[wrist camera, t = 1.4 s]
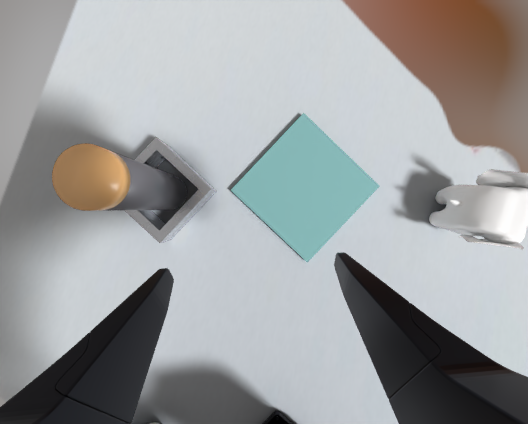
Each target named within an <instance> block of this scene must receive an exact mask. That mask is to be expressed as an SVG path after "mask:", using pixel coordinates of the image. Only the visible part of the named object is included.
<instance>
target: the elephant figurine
mask: <svg viewBox="0 0 528 424" xmlns="http://www.w3.org/2000/svg"><path fill="white" fill-rule="evenodd" d="M477 177H478V178H477V180H476V183H477V184H478V185H453V186H448V187H446V188H444V189H442V190H440V191H438V192H437V195H436V201H437V202H438V203H439V204H447V205H446V208H445V209H444V210H442V211H436V212H433V213H432V214H431V215H430V218H429V221H430V223H431V224H432V225H434V226H436V227H440V228H444V229H448V230H450V231H453V232H456V233H459V234H462V235H460V236H459V237H463V238H464V239H465V240H466V241H468V242H474V243H482V244H489V245H496V246H504V247H514V248H519V249H523V246H522V245H520V244H519V242H521V241H522V240H523V239H524V236H525V232H526V229H527V225H528V173H521V172H511V171H500V170H494V169H491V170H488V171H486V172H484V173H483V174H481V175H478V176H477ZM473 236H482V237H484V238H485V239H476V238H475V237H473Z"/></svg>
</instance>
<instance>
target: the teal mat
mask: <svg viewBox="0 0 528 424" xmlns="http://www.w3.org/2000/svg"><path fill="white" fill-rule="evenodd" d="M378 187H379V185H378V184H377V183H376V182H375V181H374V180H373V179H372V178H371V177H370V176H369V175H367V174H366V173H365V172H364V171H363V170H362V169H361V168H360V167H359V166H358V165H357V164H356V163H355V162H354V161H353V160H352V159H351V158H350V157H349V156H348V155H347V154H346V153H345V152H344V151H343V150H342V149H341V148H340V147H338V146H337V145H336V144H335V143H334V142H333V141H332V140H331V139H330V138H329V137H328V136H327V135H326V134H325V133H324V132H323V131H322V130H321V129H320V128H319V127H318V126H317V125H316V124H315V123H314V122H313V121H312V120H310V119H309V118H308V117H307V116H306V115H305V114H304V113H303V114H302V115H301V116H300V117H299V118H298V119H297V120H296V122H295V123H294V124H293V125H292V126H291V127H290V128H289V129H288V130H287V131H286V132H285V133H284V134H283V135H282V136H281V137H280V138H279V140H278V141H277V142H276V143H275V144H274V145H273V146H272V147H271V148H270V149H269V150H268V151H267V152H266V153H265V154H264V155H263V156H262V158H261V159H260V160H259V161H258V162H257V163H256V164H255V165H254V166H253V167H252V168H251V169H250V170H249V171H248V172H247V173H246V174H245V176H244V177H243V178H242V179H241V180H240V181H239V182H238V183H237V184H236V185H235V186H234V187H233V188H232V189H231V191H232V192H233V193H234V194H235V195H236V196H237V197H238V198H239V199H241V200H242V201H243V202H244V203H245V204H246V205H247V206H248V207H249V208H250V209H251V210H252V211H253V212H254V213H255V214H256V215H257V216H259V217H260V218H261V219H262V220H263V221H264V222H265V223H266V224H267V225H268V226H269V227H270V228H271V229H272V230H273V231H274V232H276V233H277V234H278V235H279V236H280V237H281V238H282V239H283V240H284V241H285V242H286V243H287V244H288V245H289V246H290V247H291V248H292V249H294V250H295V251H296V252H297V253H298V254H299V255H300V256H301V257H302V258H303V259H304V260H305V261H306V262H308V261H309V260H310V259H311V258H312V257H313V256H314V255H315V254H316V253H317V252H318V251H319V250H320V249H321V248H322V247H323V245H324V244H325V243H326V242H327V241H328V240H329V239H330V238H331V237H332V236H333V235H334V234H335V233H336V232H337V231H338V230H339V229H340V228H341V226H342V225H343V224H344V223H345V222H346V221H347V220H348V219H349V218H350V217H351V216H352V215H353V214H354V213H355V212H356V211H357V210H358V209H359V207H360V206H361V205H362V204H363V203H364V202H365V201H366V200H367V199H368V198H369V197H370V196H371V195H372V194H373V193H374V192H375V191H376V189H377V188H378Z"/></svg>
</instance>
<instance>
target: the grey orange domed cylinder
mask: <svg viewBox="0 0 528 424" xmlns="http://www.w3.org/2000/svg"><path fill="white" fill-rule="evenodd" d="M52 182H53V186H54V189H55V191H56V193H57V195H58V196H59V197H60V199H61V200H62V201H63V202H64V203H66V204H67V205H69V206H70V207H73V208H75V209H78V210H87V211H90V210H173V209H176V208H178V207H180V206H181V205H182V204H183V203H184V201H185V199H186V196H187V189H186V186H185V184H184V182H183V181H182V180H181V179H180V178H179V177H177V176H174V175H172V174H169V173H167V172H164V171H161V170H159V169H156V168H154V167H151V166H149V165H146V164H143V163H141V162H138V161H136V160H133V159H130V158H128V157H125V156H123V155H120V154H118V153H115V152H112V151H110V150H107V149H105V148H102V147H99V146H97V145H93V144H78V145H74V146H71V147H70V148H68V149H66V150H65V151H64V152H63V153H61V155H60V156H59V157H58V158H57V160H56V162H55V164H54V167H53V172H52Z"/></svg>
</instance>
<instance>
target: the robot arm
mask: <svg viewBox="0 0 528 424" xmlns="http://www.w3.org/2000/svg"><path fill="white" fill-rule="evenodd" d="M334 266H335V270H336V273H337V276H338V280H339V283H340V286H341V289H342V292H343V295H344V298H345V300H346V302H347V305H348V307H349V309H350V312H351V314H352V316H353V319H354V321H355V323H356V325H357V328H358V330H359V332H360V335H361V337H362V339H363V342H364V344H365V346H366V349H367V351H368V353H369V355H370V358H371V360H372V362H373V365H374V367H375V369H376V372H377V374H378V376H379V378H380V381H381V383H382V385H383V388H384V390H385V392H386V395H387V397H388V399H389V402H390V404H391V406H392V409H393V411H394V413H395V416H396V418H397V420H398V423H399V424H528V377H526V376H524V375H521V374H519V373H516V372H514V371H512V370H510V369H508V368H506V367H504V366H502V365H500V364H498V363H497V362H495V361H493V360H492V359H490V358H488V357H487V356H485V355H484V354H482V353H481V352H479V351H478V350H476V349H475V348H473V347H472V346H470V345H469V344H468V343H466V342H465V341H463V340H462V339H460V338H459V337H457V336H456V335H454V334H453V333H451V332H450V331H448V330H447V329H445V328H444V327H442V326H441V325H440V324H438V323H437V322H435V321H434V320H432V319H431V318H430V317H428V316H427V315H426V314H424V313H423V312H422V311H420V310H419V309H418V308H416V307H415V306H414V305H412V304H411V303H409V302H408V301H407V300H406V299H405V298H403V297H402V296H401V295H399V294H398V293H397V292H395V291H394V290H393V289H392V288H390V287H389V286H388V285H386V284H385V283H384V282H383V281H381V280H380V279H379V278H377V277H376V276H375V275H373V274H372V273H371V272H370V271H368V270H367V269H366V268H364V267H363V266H362V265H360V264H359V263H358V262H357V261H355V260H354V259H353V258H351V257H350V256H349V255H347V254H346V253H337V254H336V258H335V263H334ZM173 282H174V279H173V276H172V275H171V273H170V271H169V269H167V268H165V269H159V270H158V271H157V272H156V273H154V274H153V275H152V276H151V277H150V278H149V279H148V280H147V281H146V282H144V283H143V284H142V285H141V286H140V287H139V288H138V289H137V290H136V291H135V292H133V293H132V294H131V295H130V296H129V297H128V298H127V299H126V300H125V301H123V302H122V303H121V304H120V305H119V306H118V307H117V308H116V309H115V310H114V311H112V312H111V313H110V314H109V315H108V316H107V317H106V318H105V319H104V320H103V321H101V322H100V323H99V324H98V325H97V326H96V327H95V328H94V329H93V330H91V332H90V333H88V334H87V335H86V336H85V337H84V338H83V339H81V340H80V341H79V342H78V343H77V344H76V345H75V346H74V347H72V348H71V349H70V350H69V351H68V352H67V353H66V354H64V355H63V356H62V357H61V358H60V359H58V360H57V361H56V362H55V363H54V364H53V365H51V366H50V367H49V368H48V369H47V370H45V371H44V372H43V373H42V374H40V375H39V376H38V377H37V378H36V379H34V380H33V381H32V382H31V383H29V384H28V385H27V386H26V387H25V388H23V389H22V390H21V391H20V392H18V393H17V394H16V395H15V396H14V397H12V398H11V399H10V400H9V401H7V402H6V403H5V404H4V405H2V406H1V407H0V424H131V422H132V419H133V416H134V413H135V410H136V407H137V404H138V400H139V397H140V394H141V391H142V388H143V385H144V382H145V379H146V376H147V373H148V370H149V366H150V363H151V360H152V357H153V354H154V351H155V348H156V345H157V342H158V339H159V335H160V332H161V329H162V326H163V323H164V320H165V317H166V314H167V310H168V306H169V301H170V296H171V292H172V287H173ZM277 416H278V417H277ZM264 424H293V423H291V422H290V421H289V420H288V419H287V418H286V417H285V416H284V415H282V414H281V413H280V412H279V411H275V412H274V413H273V414H272V415H271V416H270V417H269V418H268V419H267V420H266V422H265V423H264Z"/></svg>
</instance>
